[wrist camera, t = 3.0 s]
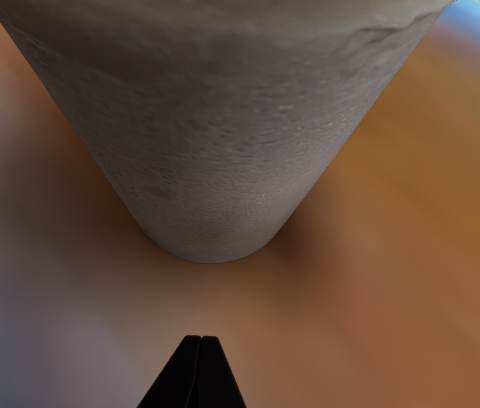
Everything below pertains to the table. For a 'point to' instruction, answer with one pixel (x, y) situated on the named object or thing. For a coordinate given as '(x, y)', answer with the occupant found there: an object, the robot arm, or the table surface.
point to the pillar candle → (215, 100)
